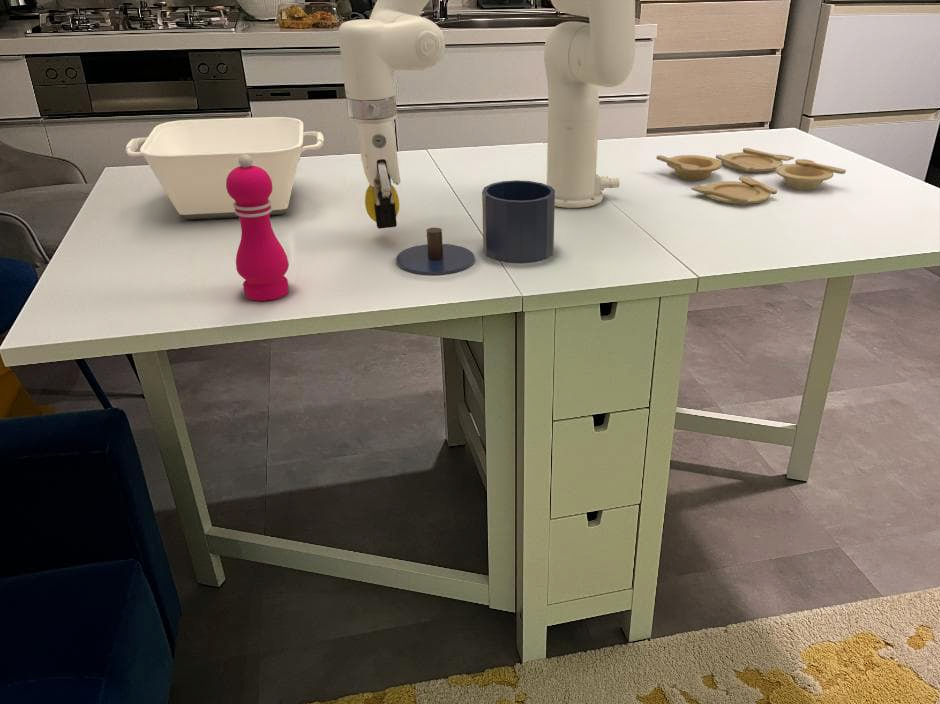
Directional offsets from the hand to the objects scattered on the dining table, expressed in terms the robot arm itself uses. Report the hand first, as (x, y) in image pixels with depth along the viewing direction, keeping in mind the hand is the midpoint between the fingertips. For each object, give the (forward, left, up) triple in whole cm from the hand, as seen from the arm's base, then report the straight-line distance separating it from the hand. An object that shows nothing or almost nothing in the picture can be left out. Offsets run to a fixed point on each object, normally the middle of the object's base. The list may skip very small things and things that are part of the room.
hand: (384, 219), depth 138 cm
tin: (-20, +10, -4) cm, 23 cm away
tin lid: (-6, +11, -3) cm, 13 cm away
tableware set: (-78, -19, -4) cm, 81 cm away
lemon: (0, 0, -1) cm, 1 cm away
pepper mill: (+20, +16, -4) cm, 26 cm away
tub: (+24, -28, -4) cm, 37 cm away
